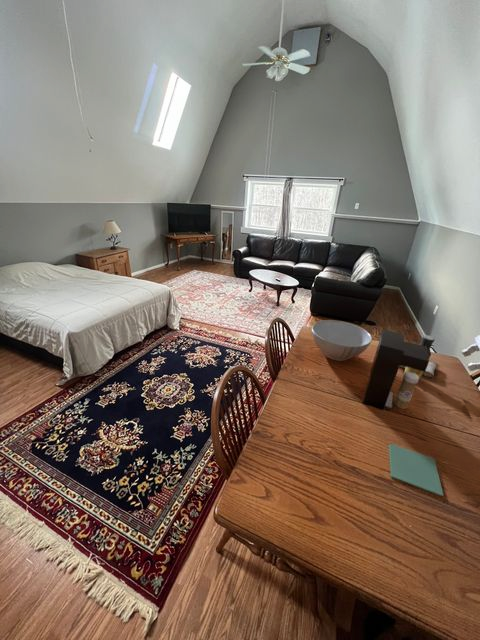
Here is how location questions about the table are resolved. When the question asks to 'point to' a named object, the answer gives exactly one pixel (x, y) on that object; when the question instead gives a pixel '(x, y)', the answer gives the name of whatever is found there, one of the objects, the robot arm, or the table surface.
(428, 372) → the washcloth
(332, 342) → the decorative bowl
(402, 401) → the sprinkles bottle
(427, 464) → the rubber mat
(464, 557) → the table surface
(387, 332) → the black l-shaped post
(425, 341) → the sauce bottle
